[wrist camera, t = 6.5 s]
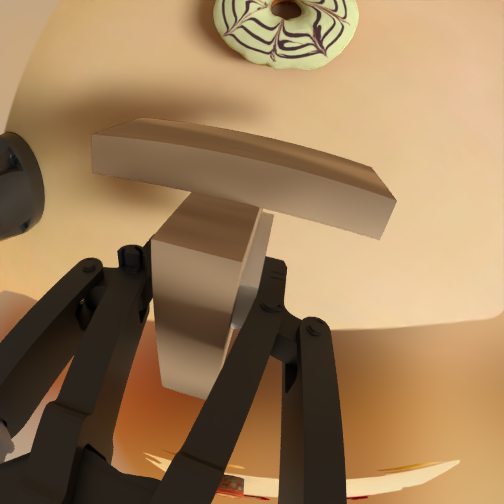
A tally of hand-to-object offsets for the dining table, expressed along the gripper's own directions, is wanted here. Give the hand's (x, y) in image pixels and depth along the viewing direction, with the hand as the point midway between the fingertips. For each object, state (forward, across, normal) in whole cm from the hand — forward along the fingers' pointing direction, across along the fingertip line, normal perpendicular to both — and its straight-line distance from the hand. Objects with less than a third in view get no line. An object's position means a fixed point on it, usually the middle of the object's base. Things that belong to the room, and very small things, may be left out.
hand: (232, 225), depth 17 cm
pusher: (+1, 0, 0) cm, 1 cm away
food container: (+10, +16, -138) cm, 139 cm away
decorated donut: (+10, 0, +15) cm, 18 cm away
